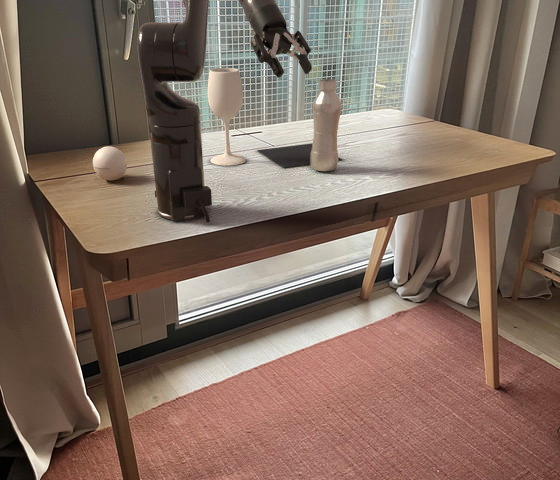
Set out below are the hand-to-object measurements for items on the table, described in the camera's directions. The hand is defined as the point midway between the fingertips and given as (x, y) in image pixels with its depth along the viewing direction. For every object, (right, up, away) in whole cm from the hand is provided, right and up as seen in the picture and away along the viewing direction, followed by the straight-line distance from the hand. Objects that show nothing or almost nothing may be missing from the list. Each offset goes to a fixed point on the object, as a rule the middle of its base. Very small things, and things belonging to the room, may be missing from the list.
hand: (295, 73), depth 131 cm
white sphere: (-42, -26, -4) cm, 50 cm away
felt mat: (+1, -16, +13) cm, 21 cm away
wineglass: (-16, -18, +9) cm, 26 cm away
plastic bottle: (+7, -22, +3) cm, 23 cm away
